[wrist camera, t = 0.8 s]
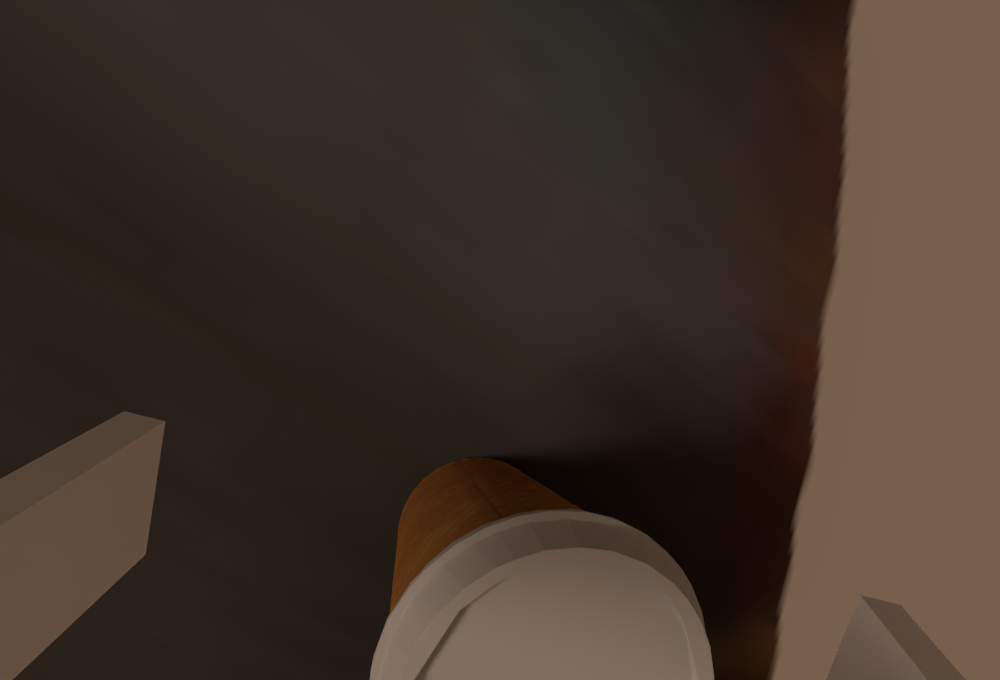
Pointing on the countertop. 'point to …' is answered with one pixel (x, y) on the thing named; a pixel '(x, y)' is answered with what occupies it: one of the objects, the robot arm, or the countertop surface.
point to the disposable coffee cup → (531, 589)
